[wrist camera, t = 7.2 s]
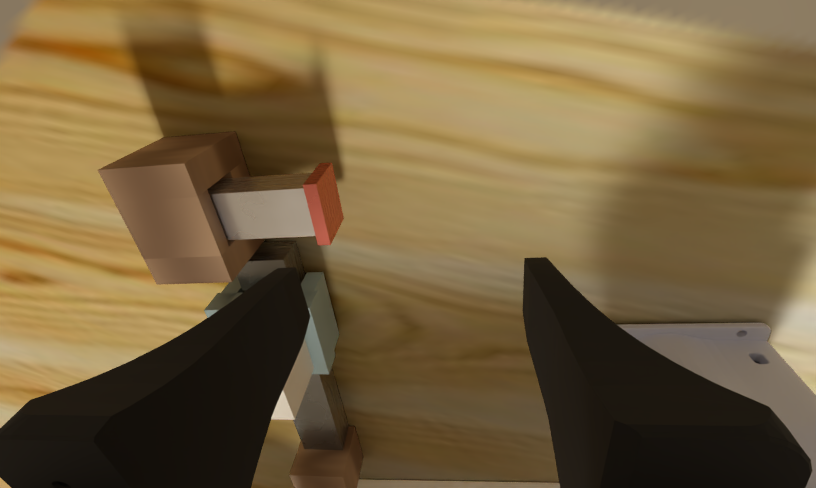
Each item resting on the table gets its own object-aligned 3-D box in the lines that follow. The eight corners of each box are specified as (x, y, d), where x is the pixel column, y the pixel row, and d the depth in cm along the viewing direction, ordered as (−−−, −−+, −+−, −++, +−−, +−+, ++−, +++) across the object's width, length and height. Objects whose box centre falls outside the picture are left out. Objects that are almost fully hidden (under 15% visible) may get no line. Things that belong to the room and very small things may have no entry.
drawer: (331, 162, 20) (316, 184, 17) (343, 218, 21) (330, 244, 19) (222, 170, 20) (194, 191, 18) (241, 223, 22) (217, 249, 20)
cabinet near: (235, 131, 21) (184, 163, 17) (268, 234, 24) (231, 282, 20) (163, 137, 21) (97, 170, 17) (204, 237, 24) (157, 284, 20)
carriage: (326, 271, 24) (287, 356, 19) (342, 334, 27) (311, 426, 21) (232, 274, 25) (166, 357, 20) (256, 335, 28) (204, 423, 22)
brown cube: (354, 426, 32) (343, 477, 29) (363, 456, 34) (352, 507, 31) (306, 425, 33) (289, 475, 30) (317, 455, 35) (302, 504, 32)
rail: (295, 240, 24) (283, 260, 22) (348, 426, 32) (342, 450, 31) (247, 243, 24) (231, 261, 23) (312, 425, 33) (304, 449, 31)
